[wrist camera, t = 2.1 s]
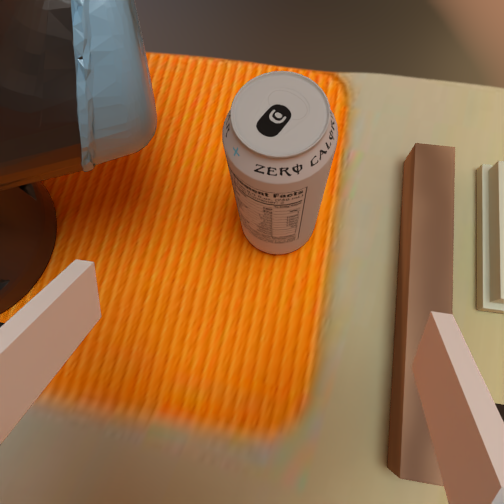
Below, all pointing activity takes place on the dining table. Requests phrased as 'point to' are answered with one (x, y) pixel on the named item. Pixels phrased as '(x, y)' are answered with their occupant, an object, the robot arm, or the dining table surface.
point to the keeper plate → (490, 237)
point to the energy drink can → (279, 157)
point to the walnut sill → (420, 300)
